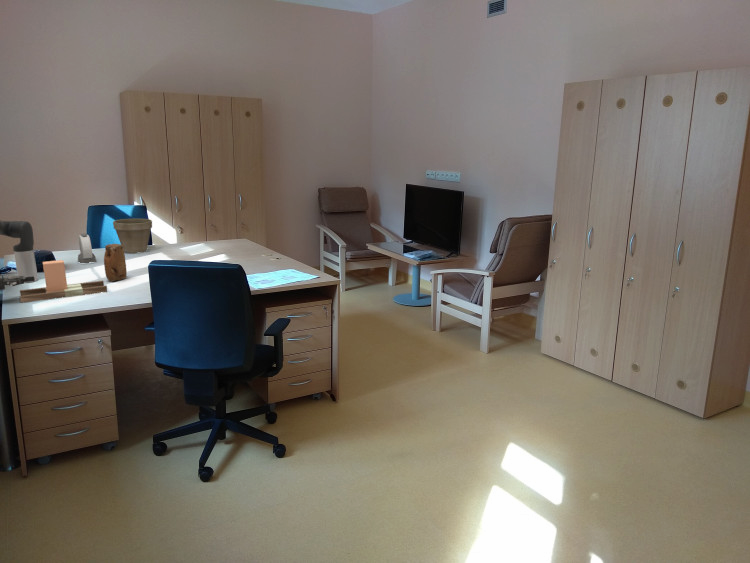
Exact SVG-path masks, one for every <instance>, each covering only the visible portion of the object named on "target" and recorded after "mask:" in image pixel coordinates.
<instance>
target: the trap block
mask: <svg viewBox="0 0 750 563" xmlns="http://www.w3.org/2000/svg"><path fill="white" fill-rule="evenodd" d="M42 265H43V266H42V268H43V274H44V279H45V280H44V281H45V287H46V288H47V292H49V291H57V290H65V289H68V288H67V285H68V281H67V274H66V267H65V262H64V260H63V259H59V260H58V259H57V260H50V261H42Z"/></svg>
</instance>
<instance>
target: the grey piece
mask: <svg viewBox="0 0 750 563" xmlns="http://www.w3.org/2000/svg"><path fill="white" fill-rule="evenodd" d="M91 242H92V241H91V238H90V235H89V234H87V233H80V235H78V246H79V251H80V252H79V254H78V255H77V256H78V257H77V263H78V262H80V263H89V262H96V263H97V258H96V256H95V254H94V253H93V248H92V243H91Z"/></svg>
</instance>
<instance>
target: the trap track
mask: <svg viewBox="0 0 750 563" xmlns="http://www.w3.org/2000/svg"><path fill="white" fill-rule="evenodd" d="M107 287H108V286H107V285H105V282H104V280H97V281H96V280H95V281H87V282H80V283H79V282H78V283H71V284H70V283H69V284H67V288H68V289H65V290H57V291H49V292H47V288H46V286H44V287H36V288H29V289H21V290H20V289H19V294H20V296H19V298H20V303H21V304H23V302H24V303H30V302H32V303H33V302H38V301H48V300H54V299H55V298H56V299H63V298H71V297H78V296H85V294H87V295H93V294H94V293H95V294H100V293H101V292H103V293H108V288H107ZM62 297H63V298H62ZM56 299H55V300H56Z"/></svg>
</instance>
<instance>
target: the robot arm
mask: <svg viewBox="0 0 750 563" xmlns="http://www.w3.org/2000/svg"><path fill="white" fill-rule="evenodd" d="M33 230H34V229H33V226H32V224H31V223H30V222H29V221H25V220H11V221H9V220H7V221H5V220H4V221H3V220H1V219H0V235H1V236H4V237H5V236H6V237H9V238H11V239H19V243H18V244H15V245H13V246H12V248H13V254H14V261H15V267H16V268H15V269H16V274H17V275H11V276H8V277H4V274H2V273H1V274H0V291H3V290H5V289H6V286H9V287H15V286H20V285H24V284H25V283H33V282H36V281H39V278H38V277H39V276H38V271H37V264H36V257H35V250H34V244H35V241H34V239H35V238H34V231H33Z"/></svg>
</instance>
